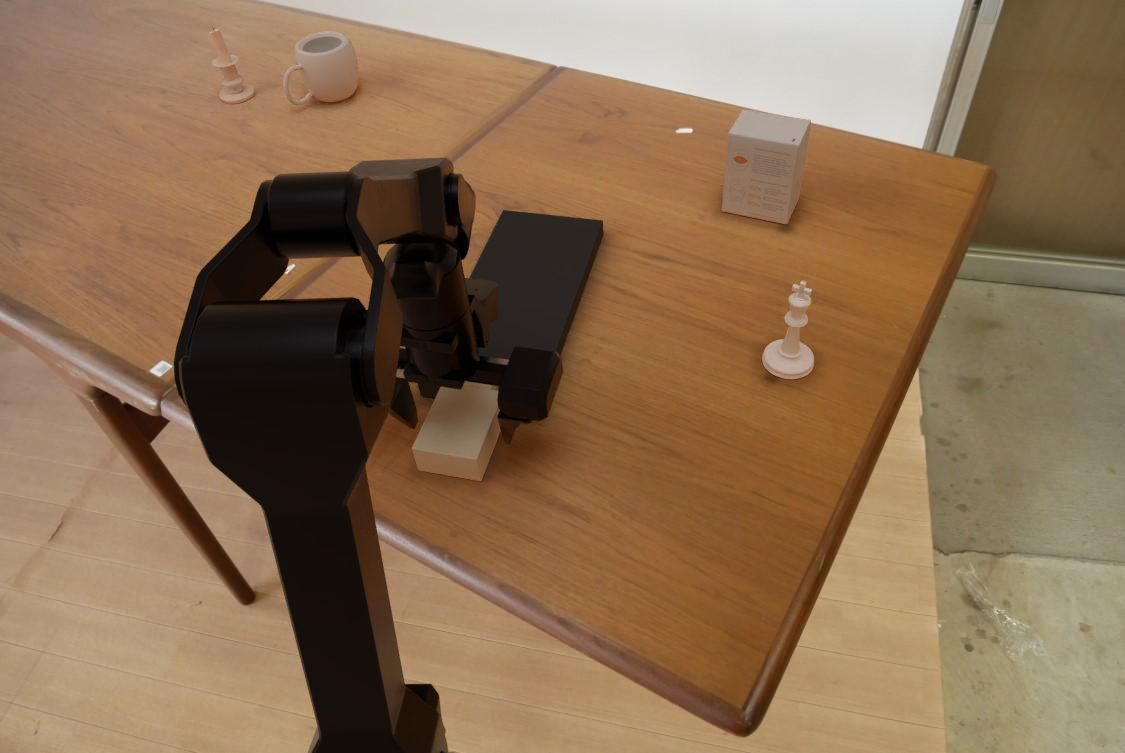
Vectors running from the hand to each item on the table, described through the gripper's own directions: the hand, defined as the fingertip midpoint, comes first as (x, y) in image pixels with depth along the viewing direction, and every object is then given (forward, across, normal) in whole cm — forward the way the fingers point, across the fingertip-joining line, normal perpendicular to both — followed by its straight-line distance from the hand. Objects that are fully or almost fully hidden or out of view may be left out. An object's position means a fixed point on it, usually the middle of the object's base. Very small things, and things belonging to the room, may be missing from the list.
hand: (461, 433), depth 76 cm
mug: (+2, +41, -57) cm, 70 cm away
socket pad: (+1, 0, -19) cm, 19 cm away
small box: (+1, -23, -41) cm, 47 cm away
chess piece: (+1, -28, -16) cm, 32 cm away
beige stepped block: (+1, 0, -2) cm, 2 cm away
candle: (+2, +55, -56) cm, 78 cm away
